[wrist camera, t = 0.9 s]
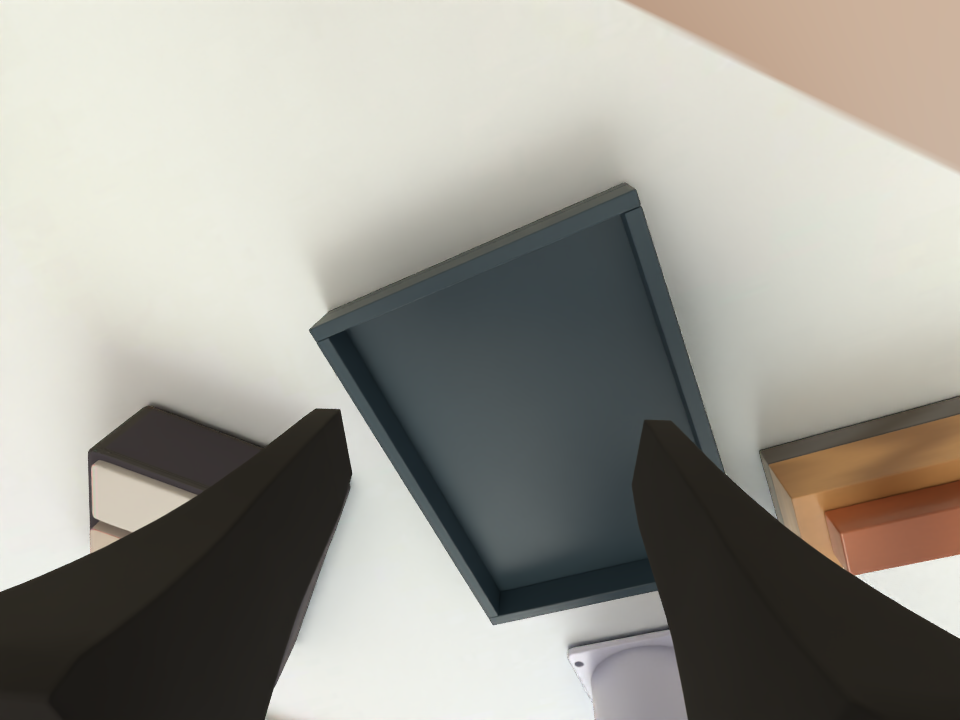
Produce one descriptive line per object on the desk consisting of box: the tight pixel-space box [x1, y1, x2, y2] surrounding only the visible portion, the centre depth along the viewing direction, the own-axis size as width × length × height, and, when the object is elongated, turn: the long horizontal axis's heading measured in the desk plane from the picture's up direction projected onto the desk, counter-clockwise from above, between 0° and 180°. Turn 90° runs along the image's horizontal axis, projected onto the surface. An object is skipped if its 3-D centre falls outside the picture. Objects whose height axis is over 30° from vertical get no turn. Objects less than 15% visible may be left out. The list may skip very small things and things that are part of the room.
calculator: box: [88, 406, 350, 687], centre depth 27 cm, size 11×4×15 cm
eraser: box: [759, 397, 960, 575], centre depth 20 cm, size 8×4×4 cm, turn 115°
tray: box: [309, 182, 725, 625], centre depth 22 cm, size 18×13×2 cm
